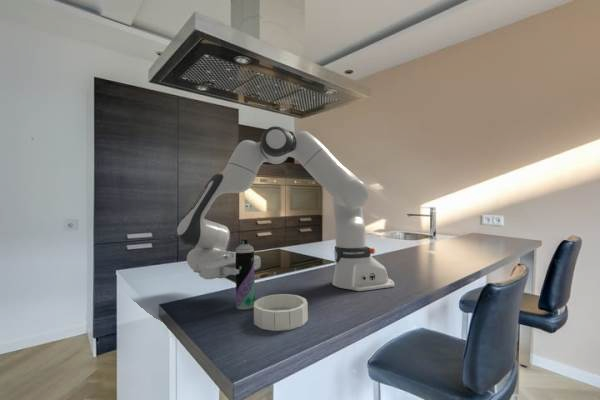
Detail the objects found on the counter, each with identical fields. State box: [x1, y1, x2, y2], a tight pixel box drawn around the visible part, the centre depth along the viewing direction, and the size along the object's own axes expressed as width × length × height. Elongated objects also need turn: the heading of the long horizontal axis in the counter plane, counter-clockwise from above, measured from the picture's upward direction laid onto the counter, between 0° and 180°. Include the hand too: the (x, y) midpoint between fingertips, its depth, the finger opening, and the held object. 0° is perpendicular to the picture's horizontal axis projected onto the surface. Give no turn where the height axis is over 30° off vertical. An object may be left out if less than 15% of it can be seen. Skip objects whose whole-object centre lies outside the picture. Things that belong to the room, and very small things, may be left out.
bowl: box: [253, 293, 309, 332], centre depth 79 cm, size 14×14×4 cm
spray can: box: [234, 239, 256, 311], centre depth 89 cm, size 6×6×20 cm
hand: (246, 269), depth 88 cm, fingers closed on spray can, 5 cm apart
